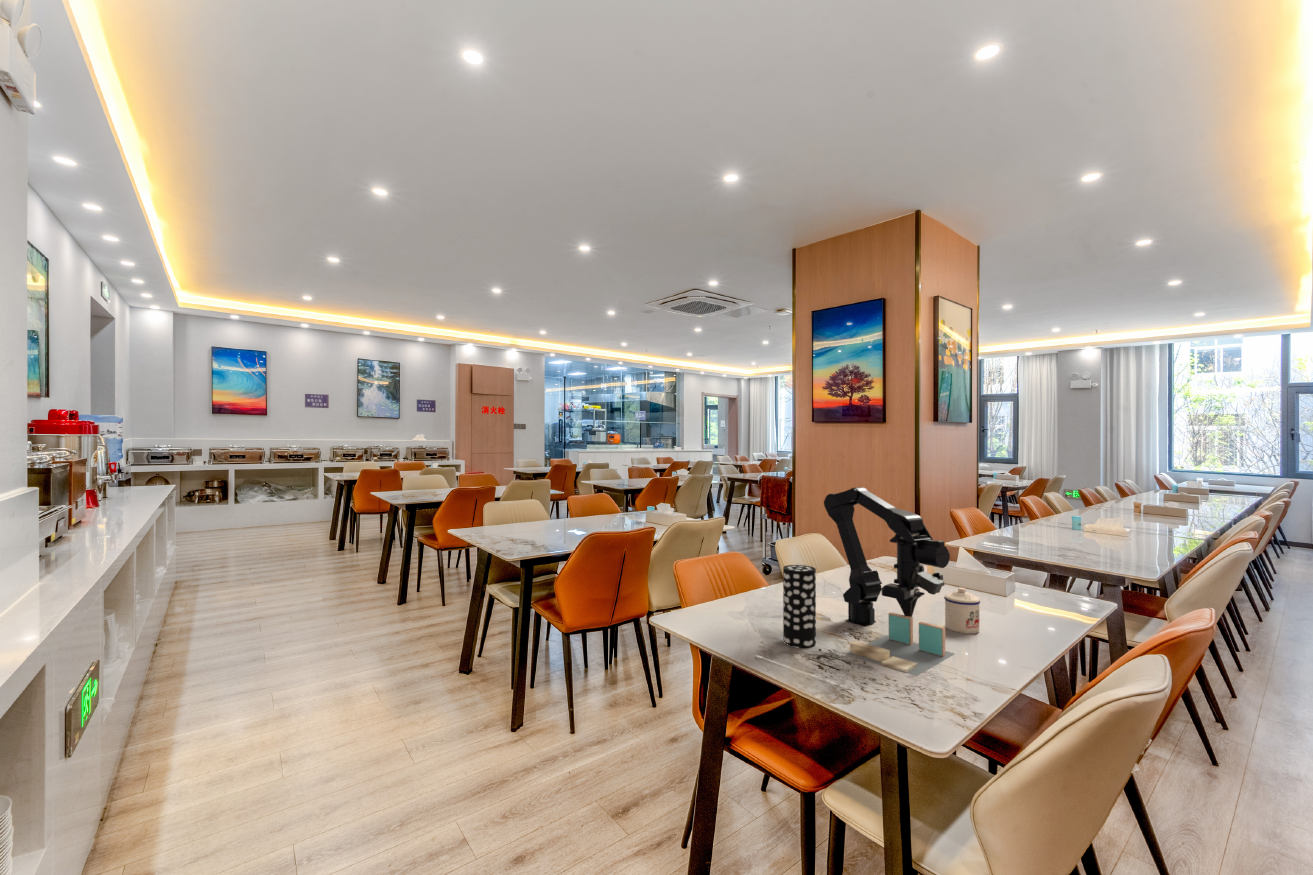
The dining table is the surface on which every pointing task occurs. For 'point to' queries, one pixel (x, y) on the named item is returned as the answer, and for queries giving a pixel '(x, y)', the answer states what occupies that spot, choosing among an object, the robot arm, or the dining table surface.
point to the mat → (906, 654)
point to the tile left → (901, 628)
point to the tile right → (932, 639)
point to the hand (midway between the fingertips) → (908, 618)
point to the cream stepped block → (881, 656)
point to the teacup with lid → (962, 612)
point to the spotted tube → (799, 606)
